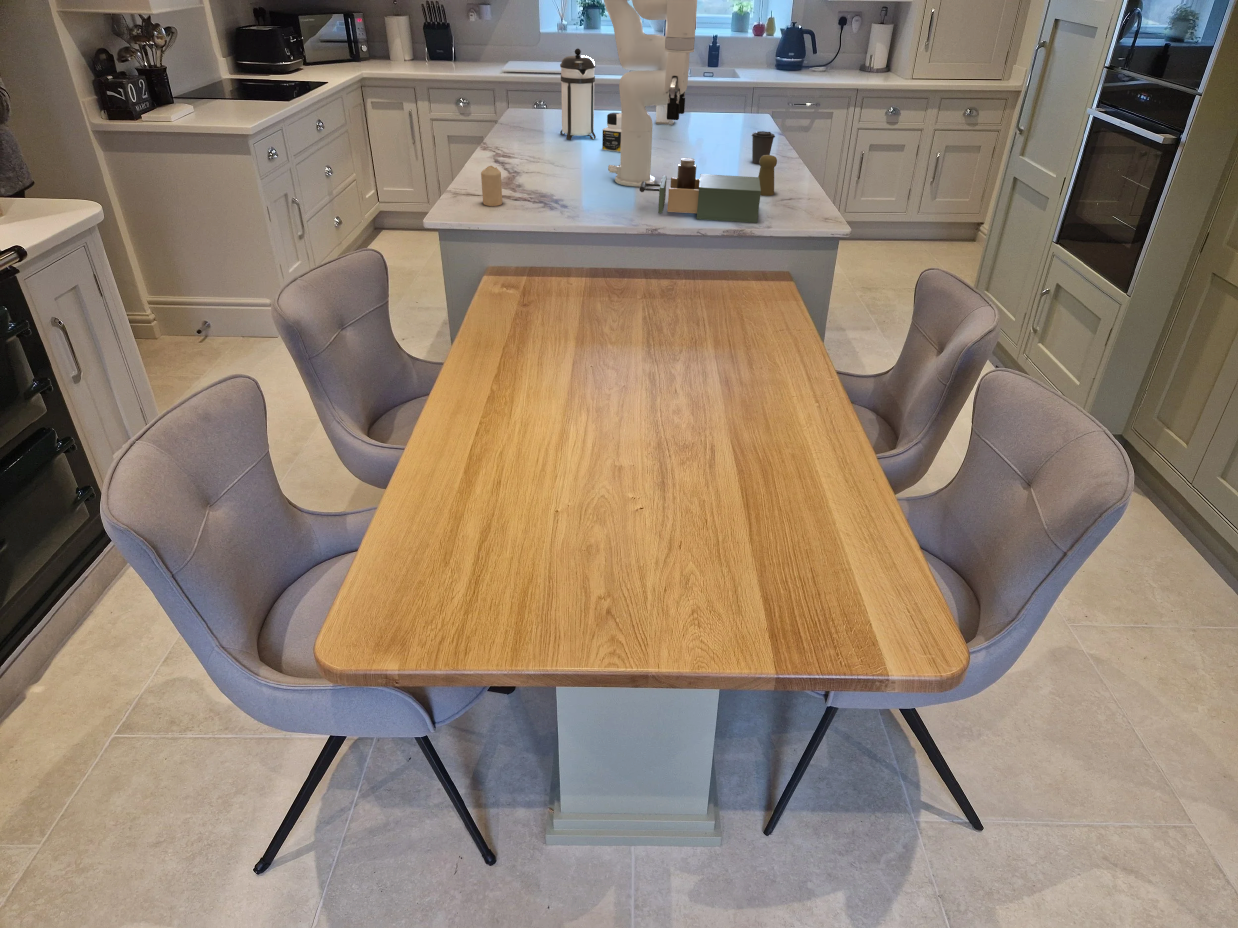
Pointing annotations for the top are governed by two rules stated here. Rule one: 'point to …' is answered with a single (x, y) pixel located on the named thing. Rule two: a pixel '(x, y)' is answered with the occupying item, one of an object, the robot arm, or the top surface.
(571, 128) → the coffee press
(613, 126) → the medicine bottle
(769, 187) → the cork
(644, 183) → the drawer
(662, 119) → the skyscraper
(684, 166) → the pepper mill
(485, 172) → the candle
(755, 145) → the coffee cup
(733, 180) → the cabinet
